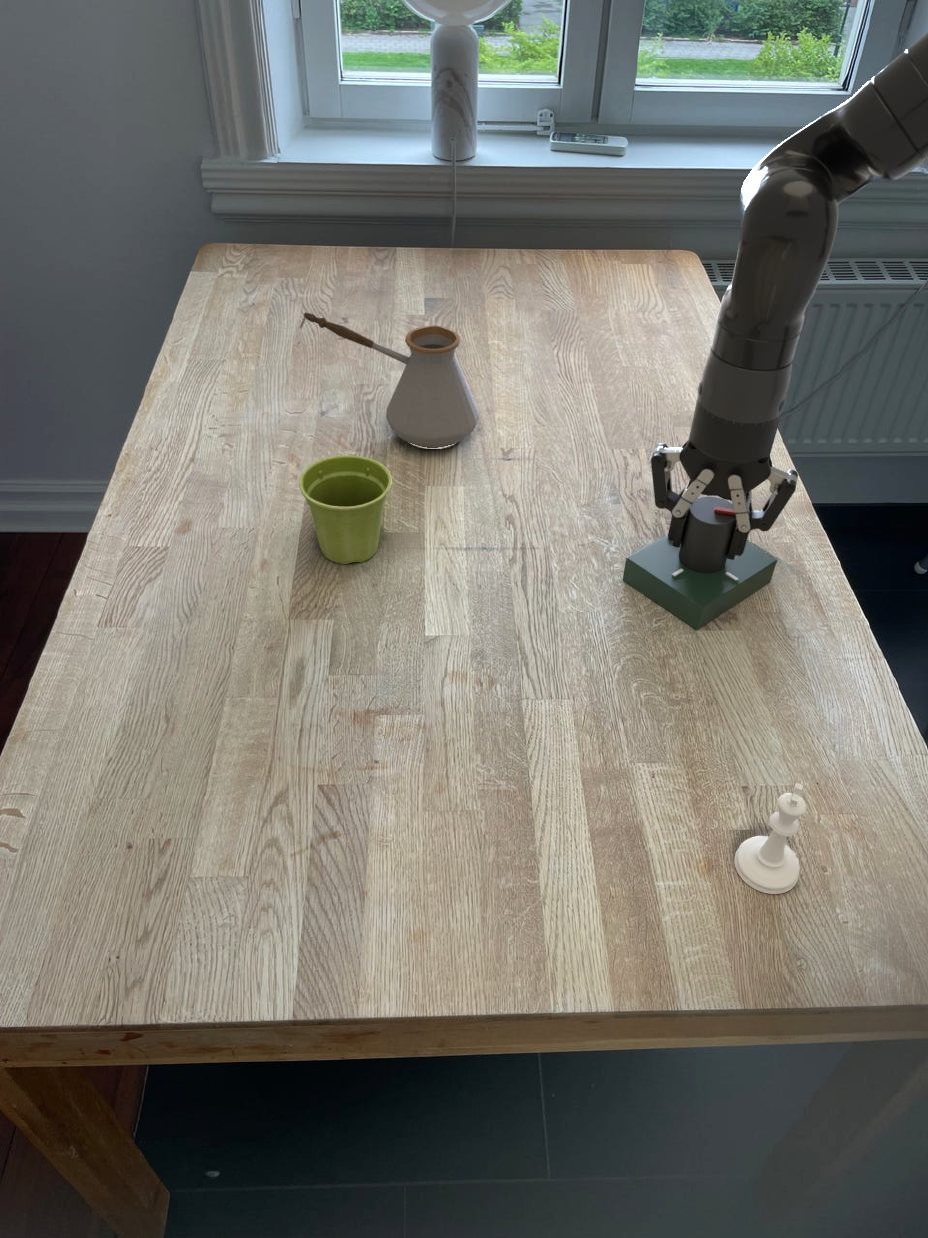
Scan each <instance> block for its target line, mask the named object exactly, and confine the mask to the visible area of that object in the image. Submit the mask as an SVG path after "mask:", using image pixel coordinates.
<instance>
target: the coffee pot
mask: <svg viewBox="0 0 928 1238" xmlns="http://www.w3.org/2000/svg"><path fill="white" fill-rule="evenodd" d="M306 320H308V321H309V322H311V323H315V324H317V325H318V326H319V328H320V329H324V328H325V329H326V330H329V331H331V332H332V333H333V334H335V335H337V336H338V337H341V338H343V339H345V340H348V341H351V342H353V343H356V344H358V345H361V346H363V347H366V348H369V349H373V350H375V351H377V352H379V353H381V354H383V355H385V356H388V357H389V358H392V359H394V360H396V361H398V362H400V363H402V364H405V367H404V369H403V371H402V373H401V376H400V379H399V380H398V383H397V384H396V387H395V389H394V392H393V394H392V396H391V398H390V401H389V403H388V405H387V408H386V413H385V417H386V421H387V423H388V425H389V426H390V429H391V430H392V432H394V433H395V434H396V435H397V436H398V437H399V438H400V439H402V440H403V441H405V442H406V441H407V442H409V443H412V444H415V445H418V446H422V447H427V448H438V447H444V446H448V445H452V444H455V443H457V442H459V441H460V442H461V441H463V440H464V439H466V438H467V437H468V436H469V435H470V434H471V433H472V432H473V431H474V430H475V428H476V426H477V424H478V422H479V419H480V412H479V411H480V410H479V407H478V405H477V403H476V400H475V398H474V396H473V394H472V391H471V388H470V386H469V384H468V382H467V379H466V378H465V376H464V375H465V374H464V373H463V371H462V369H461V366H460V364H459V361H458V359H457V357H456V354H455V353H456V351H457V350H456V349H457V348H458V347H459V345H460V343H461V336H460V335H459V333H457V332H456V331H455V330H453V329H450V328H449V327H445V326H441V325H439V324H431V325H426V326H420V327H417V328H414V329H411V330H410V331H409V332H407V334H406V336H405V337H404V338H405V340H404V342H405V344H406V345H407V347H408V348H409V351H410V356H409V355H406V354H404V353H402V352H399V351H396V350H394V349H392V348H389V347H387V346H384V345H382V344H380V343H378V342H375V341H374V340H372V339H371V338H368V337H366V336H364V335H362V334H360V333H358V332H356V331H354V330H353V329H351V328H349V327H347V326H344V325H343V324H338V323H334V322H331V321H328V320H327V318H326V317H318V316H317V315H316V314H313V313H310V312H306V311H305V312H304V313H303V318H302V321H301V323H300V327H299V330H302V328H303V326H304V324H305V323H306V322H305V321H306ZM407 442H406V443H407ZM460 442H459V443H460Z"/></svg>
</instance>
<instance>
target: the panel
mask: <svg viewBox="0 0 928 1238" xmlns="http://www.w3.org/2000/svg"><path fill="white" fill-rule="evenodd" d="M673 542H674V541H671V540H669V538H668V533H667V534H666V535H663V536H661V537H660V538H658V539H656V540H655V541H653V542H651V543H649V544H647V545H646V546H644V547H642V548H640V549H638V550H637V551H635V552H633V553H632V554H630V555H628V556H627V557H626V558H625V562H624V563H625V564H624V567H623V573H622V574H623V575H622V581H623V582H625V583H627V584H628V585H629V586H631V587H632V588H634V589H635V590H636V591H638V592H639V593H640V594H643V595H644V596H646V597H647V598H648V599H650V600H651V601H652V602H654V603H656V604H657V605H659V606H660V607H662V608H663V609H665V610H666V611H667V612H669V613H671V614H672V615H673V616H675V617H676V618H678V619H679V620H680V621H682V622H683V623H685V624H687V625H688V626H690V627H691V628H692V629H695V631H698V630H700V629H702V628H703V627H705V626H706V625H707V624H709V623H710V622H712V621H713V620H716V619H717V618H719V617H720V616H721V615H723V614H724V613H726V612H727V611H729V610H730V609H732V608H733V607H735V606H736V605H738V604H739V603H741V602H742V601H744V600H745V599H748V597H750V596H752V595H753V594H754V593H756V592H758V591H759V590H761V589H762V588H763V587H765V586H767V585H768V584H770V583H771V582H772V578H773V575H774V573H775V569H776V566H777V562H778V559H777V558H775V557H774V556H772V555H770V554H769V553H767V552H765V551H763V550H762V549H760V548H758V547H756V546H755V545H754V544H753V543H750V542H749V541H747V542H746V545H745V549H744V552H743V554H742V555H741V556H737V555H735V558H734V560H731V559H727V560H726V564H725V566H724V567H723V568H722V569H721V570H719V571H716V572H712V573H703V572H697V571H694V570H691V569H689V568H688V567H686V566H685V565H684V564H683V563H682V562H681V561H680V559H679V550H680V547H679V548H678V547H674V546H673ZM680 545H681V544H680Z"/></svg>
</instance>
